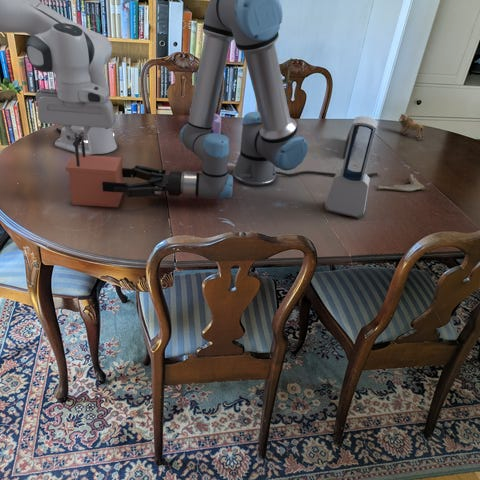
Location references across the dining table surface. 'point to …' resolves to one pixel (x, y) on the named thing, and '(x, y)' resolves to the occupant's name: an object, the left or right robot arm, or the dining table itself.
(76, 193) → the chest
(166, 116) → the dining table surface
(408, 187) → the jawbone
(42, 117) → the left robot arm
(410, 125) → the lion figurine
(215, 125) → the clip
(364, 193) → the electronic device
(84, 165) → the lid
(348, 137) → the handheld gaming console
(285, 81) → the miniature windmill
